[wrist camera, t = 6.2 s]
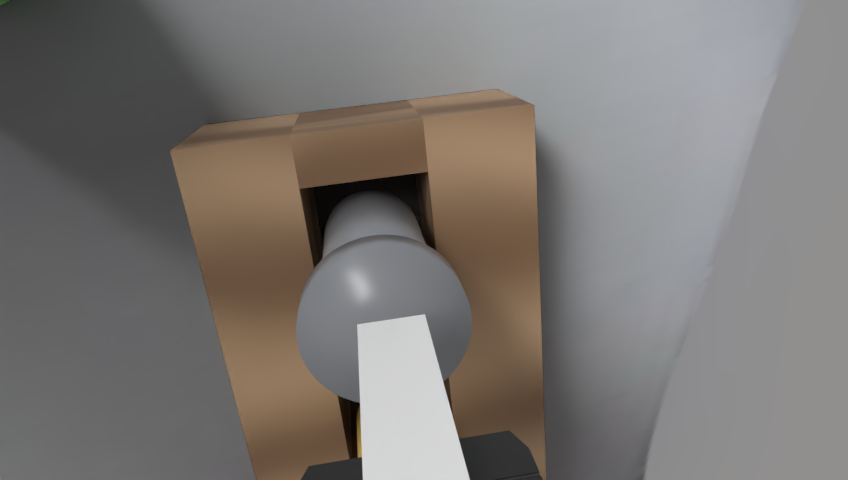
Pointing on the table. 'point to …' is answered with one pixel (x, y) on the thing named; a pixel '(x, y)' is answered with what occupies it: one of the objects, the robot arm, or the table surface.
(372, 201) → the graphite plug
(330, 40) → the table surface
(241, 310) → the walnut plug block
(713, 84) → the table surface
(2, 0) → the ink box
